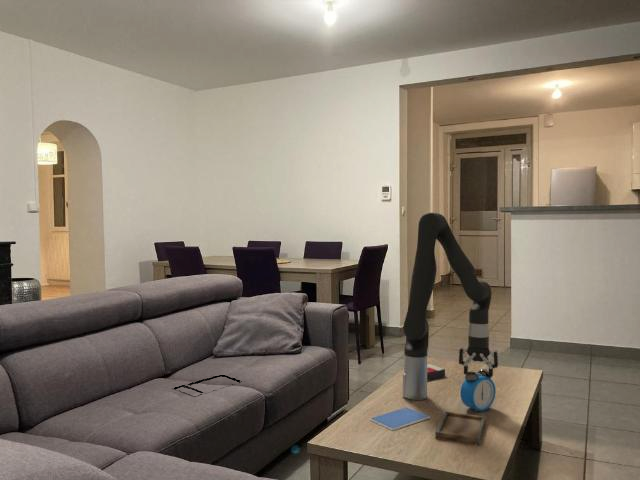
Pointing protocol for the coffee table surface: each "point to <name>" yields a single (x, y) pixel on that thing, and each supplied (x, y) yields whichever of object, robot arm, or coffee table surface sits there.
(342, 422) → the coffee table surface
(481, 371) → the alarm clock
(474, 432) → the tray
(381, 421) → the blue notebook
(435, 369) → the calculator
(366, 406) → the coffee table surface
